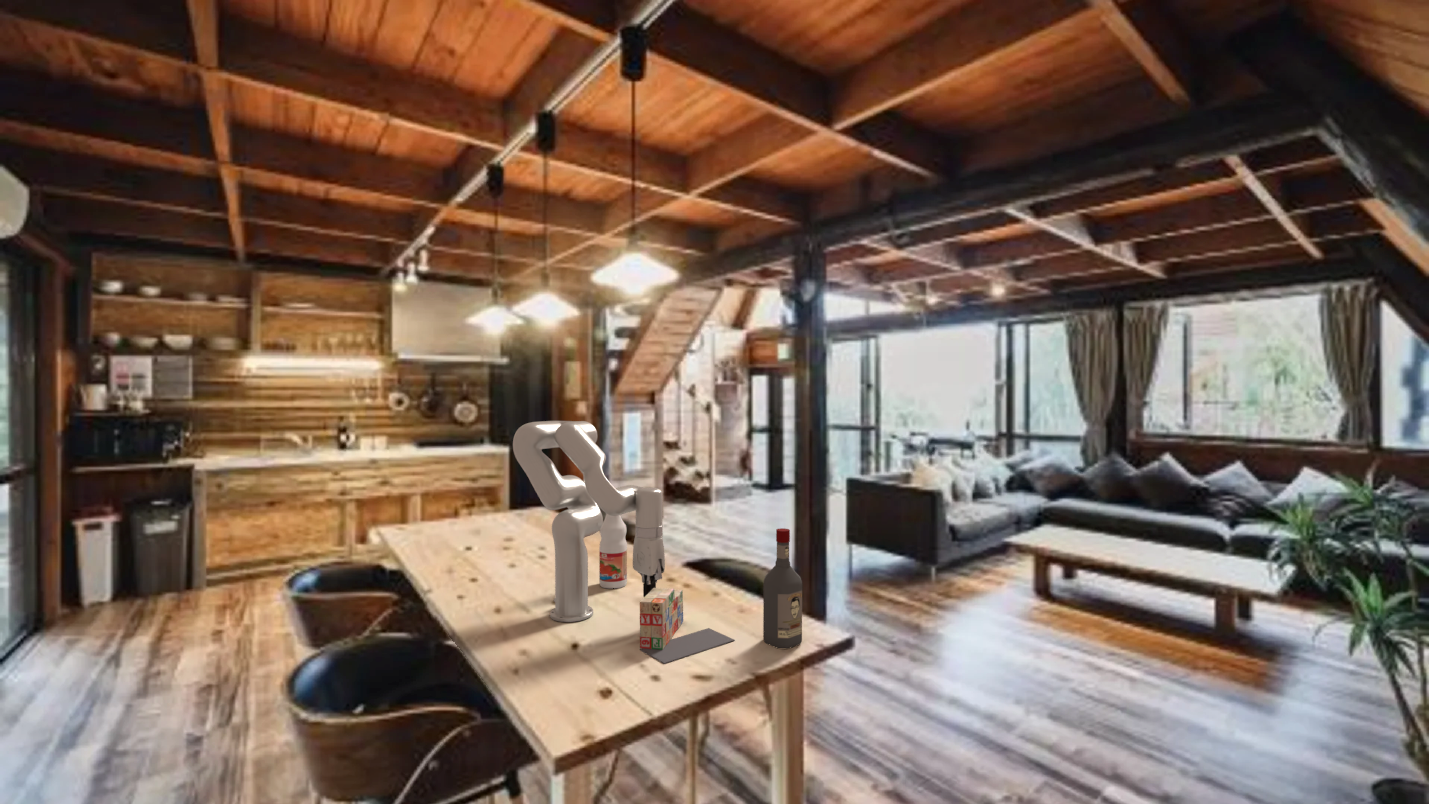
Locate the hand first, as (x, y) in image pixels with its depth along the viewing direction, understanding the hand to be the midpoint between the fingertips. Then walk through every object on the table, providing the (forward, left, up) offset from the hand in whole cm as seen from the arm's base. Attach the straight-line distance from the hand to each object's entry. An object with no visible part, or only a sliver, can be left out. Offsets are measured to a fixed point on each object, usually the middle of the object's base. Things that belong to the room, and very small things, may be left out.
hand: (649, 596), depth 180 cm
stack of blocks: (+7, 0, -9) cm, 11 cm away
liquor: (+31, +22, -9) cm, 39 cm away
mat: (+17, +1, -9) cm, 19 cm away
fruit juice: (-41, +13, -9) cm, 44 cm away
